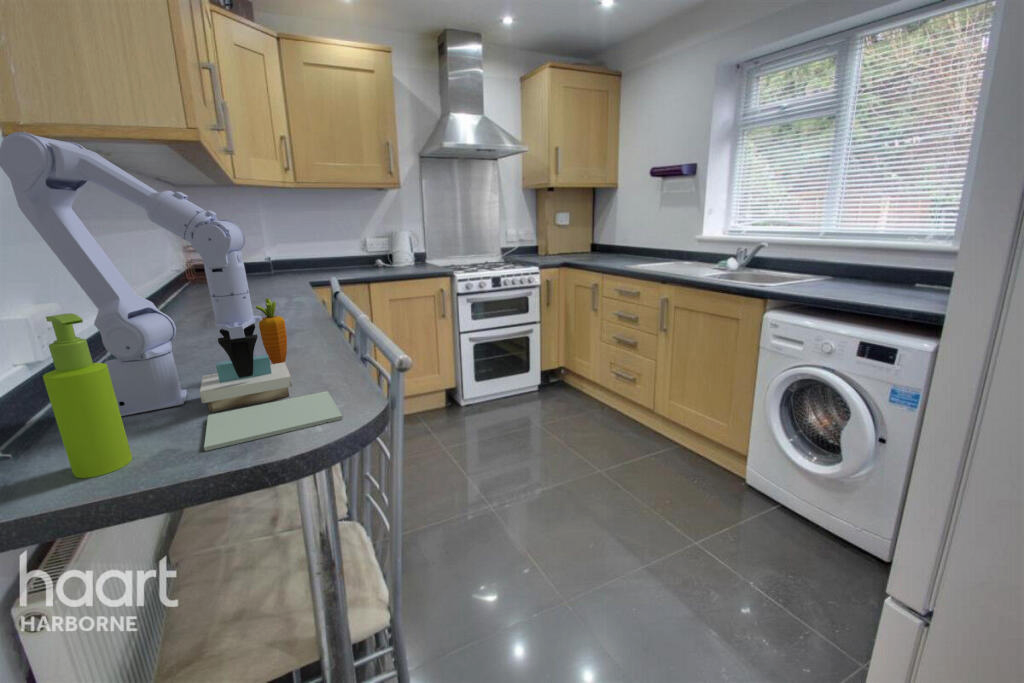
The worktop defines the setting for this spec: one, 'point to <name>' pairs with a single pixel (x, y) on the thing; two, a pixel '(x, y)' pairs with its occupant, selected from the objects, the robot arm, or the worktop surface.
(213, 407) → the storage box
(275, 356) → the carrot
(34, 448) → the worktop surface
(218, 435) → the mat
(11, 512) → the worktop surface
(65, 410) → the soap dispenser
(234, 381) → the lid
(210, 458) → the worktop surface
